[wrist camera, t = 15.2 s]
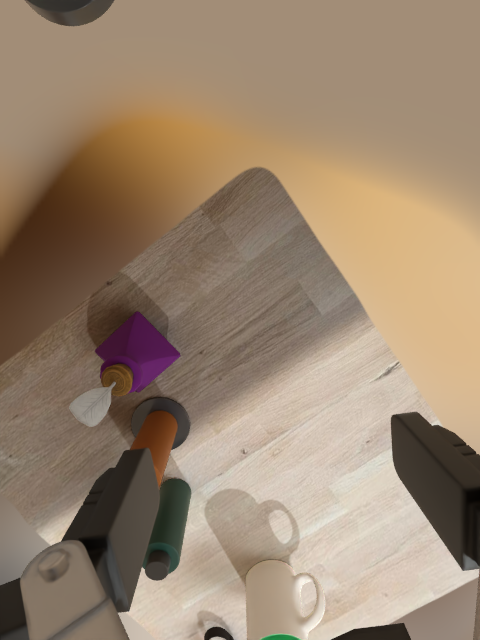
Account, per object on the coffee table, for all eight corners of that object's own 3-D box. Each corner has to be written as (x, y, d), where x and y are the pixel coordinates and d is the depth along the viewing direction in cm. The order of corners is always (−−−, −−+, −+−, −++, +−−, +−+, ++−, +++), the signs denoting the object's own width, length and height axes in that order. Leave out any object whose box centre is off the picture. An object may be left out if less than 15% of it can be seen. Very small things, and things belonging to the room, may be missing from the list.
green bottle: (156, 502, 52) (132, 583, 39) (162, 475, 51) (139, 550, 38) (187, 508, 52) (172, 591, 40) (194, 481, 51) (181, 558, 39)
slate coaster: (127, 443, 49) (126, 444, 49) (137, 391, 48) (136, 392, 47) (183, 455, 50) (183, 456, 49) (195, 404, 48) (195, 405, 48)
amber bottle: (141, 436, 49) (109, 502, 36) (147, 407, 48) (116, 464, 36) (173, 443, 49) (153, 511, 37) (180, 414, 48) (162, 474, 36)
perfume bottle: (144, 305, 45) (86, 347, 27) (185, 347, 46) (154, 412, 29) (103, 343, 46) (22, 407, 28) (144, 383, 47) (91, 467, 30)
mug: (294, 536, 53) (308, 606, 43) (327, 569, 55) (348, 644, 44) (234, 579, 55) (234, 656, 45) (267, 609, 56) (275, 691, 46)
